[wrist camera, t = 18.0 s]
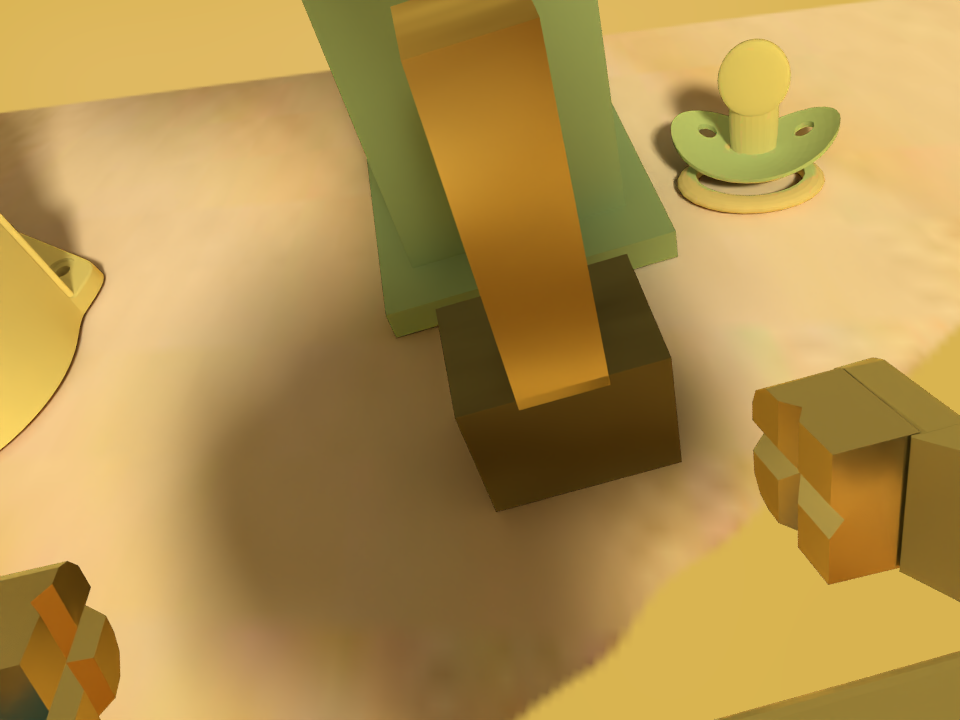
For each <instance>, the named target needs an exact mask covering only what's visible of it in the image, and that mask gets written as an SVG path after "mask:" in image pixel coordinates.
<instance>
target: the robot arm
mask: <svg viewBox="0 0 960 720" xmlns="http://www.w3.org/2000/svg"><path fill="white" fill-rule="evenodd" d="M103 280H104V276H103V274H102V272H101V271H100V270H99V269H98V268H97V267H95V266H94V265H93V264H92V263H91V262H90V261H88V260H86V259H84V258H81V257H79V256H76V255H74V254H71V253H69V252H66V251H64V250H62V249H59V248H57V247H54V246H52V245H49V244H47V243H44V242H42V241H39V240H37V239H34V238H32V237H30V236H27V235H25V234H22V233H20V232H17V231H16V229H15V228H14V227H13V226H12V225H11V224H10V223H9V222H8V221H7V220H6V219H5V218H4V217H3V215H2V214H1V213H0V449H2V448H3V447H4V446H5V445H6V444H8V443H9V442H10V441H11V440H12V439H13V438H14V437H15V436H17V435H18V434H19V433H20V432H21V431H22V430H23V429H24V428H25V427H26V426H27V425H28V424H29V423H30V422H31V421H32V419H33V418H34V417H35V416H36V415H37V414H38V413H39V412H40V410H41V409H42V408H43V407H44V405H45V404H46V403H47V402H48V400H49V399H50V397H51V396H52V395H53V393H54V392H55V390H56V389H57V387H58V386H59V384H60V382H61V381H62V379H63V377H64V376H65V374H66V372H67V370H68V368H69V365H70V363H71V361H72V358H73V355H74V352H75V349H76V345H77V340H78V335H79V329H80V324H81V321H82V318H83V315H84V313H85V312H86V310H87V309H88V307H89V306H90V304H91V303H92V301H93V300H94V298H95V297H96V295H97V293H98V291H99V290H100V288H101V286H102V283H103ZM752 420H753V421H754V422H755V423H756V425H757V426H758V427H759V428H760V429H761V430H762V431H763V432H764V434H763V436H762V437H761V439H760V440H759V442H758V444H757V445H756V447H755V448H754V450H753V457H754V473H755V477H756V480H757V484H758V487H759V491H760V494H761V496H762V498H763V500H764V502H765V504H766V506H767V508H768V510H769V511H770V512H771V513H772V515H773V516H774V517H775V519H776V520H777V521H778V523H780V524H783V525H785V526H788V527H790V528H793V529H795V530H798V548H799V549H800V550H801V552H802V553H803V554H804V555H805V556H806V558H807V559H808V560H809V561H810V563H811V564H812V565H813V566H814V568H815V569H816V570H817V571H818V573H819V574H820V575H821V576H822V578H823V579H824V580H825V581H826V583H827V584H828V585H830V584H834V583H838V582H842V581H847V580H851V579H855V578H859V577H863V576H867V575H871V574H875V573H880V572H884V571H888V570H892V569H896V568H900V572H902V573H904V574H906V575H908V576H910V577H912V578H914V579H916V580H918V581H920V582H922V583H924V584H926V585H928V586H930V587H932V588H934V589H935V590H937V591H939V592H942V593H943V594H945V595H948V596H949V597H952V598H953V599H955V600H957V601H959V602H960V415H958V414H957V413H956V412H954V411H953V410H951V409H950V408H949V407H947V406H946V405H945V404H943V403H942V402H941V401H939V400H938V399H937V398H935V397H934V396H932V395H931V394H930V393H928V392H927V391H926V390H924V389H923V388H922V387H920V386H919V385H918V384H916V383H915V382H914V381H912V380H911V379H909V378H908V377H907V376H905V375H904V374H903V373H901V372H900V371H899V370H897V369H896V368H895V367H893V366H892V365H890V364H889V363H888V362H886V361H885V360H883V359H878V358H869V359H866V360H862V361H859V362H855V363H852V364H848V365H845V366H841V367H838V368H834V370H830V371H826V372H822V373H819V374H815V375H811V376H807V377H804V378H800V379H796V380H792V381H789V382H785V383H781V384H777V385H774V386H770V387H766V388H762V389H758V390H756V391H755V394H754V398H753V402H752ZM90 588H91V587H90V585H89V583H88V581H87V580H86V578H85V576H84V575H83V573H82V571H81V569H80V568H79V566H78V565H75V564H73V563H71V562H68V561H66V562H61V563H57V564H53V565H48V566H44V567H39V568H35V569H31V570H26V571H22V572H18V573H13V574H9V575H5V576H0V720H101V719H100V717H99V715H100V714H101V713H102V712H103V711H104V710H105V709H106V708H107V707H108V705H109V704H110V703H111V702H112V701H113V700H114V699H115V698H116V693H117V689H118V685H119V680H120V651H119V647H118V644H117V640H116V637H115V633H114V631H113V629H112V627H111V625H110V623H109V621H108V619H107V617H106V616H105V615H103V614H101V613H99V612H98V611H96V610H94V609H92V608H90V607H88V606H86V605H85V604H86V601H87V598H88V594H89V591H90ZM716 720H960V651H958V652H955V653H951V654H947V655H944V656H940V657H937V658H933V659H930V660H926V661H923V662H919V663H916V664H912V665H909V666H905V667H901V668H898V669H894V670H891V671H888V672H884V673H880V674H877V675H874V676H870V677H866V678H863V679H859V680H856V681H852V682H849V683H845V684H841V685H838V686H834V687H830V688H827V689H823V690H820V691H816V692H813V693H809V694H805V695H802V696H798V697H794V698H791V699H787V700H784V701H780V702H777V703H773V704H769V705H766V706H762V707H759V708H755V709H752V710H748V711H744V712H740V713H737V714H733V715H730V716H726V717H723V718H719V719H716Z"/></svg>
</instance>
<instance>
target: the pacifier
mask: <svg viewBox="0 0 960 720" xmlns="http://www.w3.org/2000/svg"><path fill="white" fill-rule="evenodd" d="M790 79H791V72H790V66H789V62H788V60H787V57H786V55H785V54H784V52H783V51H782V50H781V49H780V48H779V47H778V46H777V45H776V44H774V43H772V42H770V41H768V40H764V39H751V40H747V41H744V42H742V43H740V44H738V45H737V46H735V47H734V48H733V49H732V50H731V51H730V52H729V53H728V54H727V55H726V57H725V58H724V60H723V62H722V64H721V67H720V70H719V73H718V89H719V93H720V96H721V98H722V100H723V101H724V103H725V105H726V106H727V107H728V108H729V116H726V115H723V114H719V113H714V112H710V111H688V112H683V113H681V114H679V115H678V116H676V117H675V118H674V120H673V122H672V125H671V136H672V140H673V143H674V146H675V148H676V150H677V152H678V153H679V155H680V156H681V158H682V159H683V160H684V161H685V162H686V163H687V164H688V165H689V166H687V167H686V168H685V169H684V170H683V171H682V172H681V174H680V176H679V178H678V180H677V182H678V189H679V190H680V192H681V193H682V194H683V196H684V197H685V198H687V199H688V200H690V201H691V202H693V203H694V204H697V205H699V206H702V207H705V208H707V209H712V210H716V211H721V212H728V213H741V214H750V213H766V212H773V211H779V210H784V209H787V208H791V207H794V206H797V205H800V204H802V203H804V202H806V201H808V200H810V199H812V198H813V197H814V196H815V195H816V194H817V193H818V192H819V191H820V190H821V189H822V187H823V184H824V182H825V179H824V175H823V172H822V170H821V169H820V168H819V167H818V166H817V165H816V164H815V163H813V162H814V161H816V160H817V159H819V158H820V157H821V156H822V155H823V154H824V153H825V152H826V151H827V149H828V148H829V147H830V146H831V144H832V143H833V141H834V140H835V138H836V137H837V134H838V131H839V127H840V119H841V118H840V114H839V113H838V111H837V110H835V109H833V108H829V107H814V108H809V109H805V110H801V111H797V112H794V113H791V114H788V115H785V116H783V117H780V118H779V104H780V103H781V102H782V100H783V99H784V98H785V96H786V94H787V92H788V89H789V85H790ZM804 127H813V129H812V130H811V131H810V132H808V133H807V134H805V135H802V136H796V135H795V133H796V132H797V131H798V130H800V129H802V128H804ZM701 129H709V130H712V131H713V132H714V133H715V134H716V136H715V137H712V138H709V137H705V136H703V135H702V134H700V132H699V130H701ZM796 172H797V173H798V174H799V175H800V176H801V177H802V178H803V179H802V180H801V181H799V182H798V183H797V184H796V185H794V186H792V187H790V188H787V189H785V190H781V191H778V192H774V193H769V194H763V195H749V196H744V195H731V194H726V193H721V192H717V191H715V190H712V189H709V188H707V187H705V186H704V185H702V184H701V183H700V182H699V181H698V180H699V178H700V177H701V176H703V175H707V176H709V177H712V178H715V179H718V180H722V181H727V182H733V183H763V182H769V181H774V180H777V179H780V178H783V177H786V176H788V175H791V174H794V173H796Z"/></svg>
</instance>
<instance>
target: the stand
mask: <svg viewBox="0 0 960 720" xmlns="http://www.w3.org/2000/svg"><path fill="white" fill-rule="evenodd" d="M407 1H410V0H302V2H303V4H304V7H305V9H306V11H307V14H308V16H309V18H310V21H311V23H312V26H313V28H314V30H315V33H316V36H317V38H318V40H319V43H320V45H321V48H322V50H323V53H324V55H325V57H326V60H327V62H328V64H329V67H330V70H331V72H332V74H333V77H334V79H335V82H336V84H337V87H338V89H339V91H340V94H341V96H342V99H343V101H344V103H345V106H346V108H347V111H348V113H349V116H350V118H351V120H352V123H353V125H354V128H355V130H356V133H357V135H358V137H359V140H360V142H361V145H362V147H363V150H364V152H365V154H366V157H367V164H368V172H369V181H370V189H371V197H372V205H373V214H374V222H375V230H376V239H377V247H378V255H379V263H380V272H381V280H382V288H383V296H384V305H385V313H386V317H387V319H388V321H389V323H390V325H391V328H392V330H393V332H394V334H395V336H396V338H397V337H400V336H404V335H407V334H411V333H414V332H418V331H421V330H425V329H428V328H432V327H435V326H438V321H437V315H436V310H435V309H438V308H441V307H445V306H448V305H451V304H455V303H458V302H462V301H465V300H469V299H472V298H476V297H479V296H480V293H479V290H478V287H477V284H476V281H475V278H474V276H473V273H472V270H471V267H470V264H469V261H468V258H467V255H466V252H465V249H464V246H463V243H462V240H461V237H460V234H459V231H458V228H457V225H456V222H455V219H454V216H453V213H452V210H451V208H450V205H449V202H448V199H447V196H446V193H445V190H444V187H443V184H442V181H441V178H440V175H439V172H438V169H437V166H436V163H435V160H434V157H433V154H432V151H431V148H430V145H429V142H428V139H427V137H426V134H425V131H424V128H423V125H422V122H421V119H420V116H419V113H418V110H417V107H416V104H415V101H414V98H413V95H412V92H411V89H410V86H409V83H408V80H407V77H406V74H405V71H404V69H403V66H402V63H401V59H400V54H399V49H398V44H397V39H396V33H395V28H394V23H393V18H392V13H391V8H390V7H391V6H394V5H397V4H400V3H404V2H407ZM532 1H533V4H534V6H535V8H536V10H537V13H538V15H539V17H540V22H541V27H542V32H543V37H544V42H545V48H546V53H547V58H548V63H549V68H550V74H551V79H552V84H553V89H554V94H555V100H556V105H557V110H558V115H559V120H560V125H561V131H562V136H563V141H564V146H565V151H566V157H567V162H568V167H569V172H570V177H571V183H572V188H573V193H574V198H575V203H576V209H577V214H578V219H579V224H580V229H581V234H582V240H583V245H584V250H585V255H586V260H587V265H590V264H593V263H597V262H600V261H603V260H607V259H610V258H614V257H617V256H621V255H624V254H627V255H628V258H629V260H630V262H631V265H632V267H633V269H636V268H640V267H643V266H647V265H650V264H654V263H657V262H661V261H664V260H668V259H671V258H675V257H678V252H677V240H676V231H675V229H674V227H673V225H672V223H671V221H670V219H669V217H668V215H667V213H666V211H665V209H664V207H663V205H662V203H661V201H660V199H659V197H658V195H657V193H656V191H655V189H654V187H653V185H652V183H651V181H650V179H649V177H648V175H647V173H646V171H645V169H644V167H643V165H642V163H641V161H640V159H639V157H638V155H637V153H636V151H635V149H634V147H633V145H632V143H631V141H630V139H629V137H628V135H627V133H626V131H625V129H624V127H623V125H622V123H621V121H620V119H619V117H618V115H617V113H616V111H615V109H614V107H613V105H612V103H611V96H610V88H609V81H608V74H607V66H606V59H605V52H604V45H603V37H602V30H601V23H600V16H599V8H598V1H597V0H532Z"/></svg>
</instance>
